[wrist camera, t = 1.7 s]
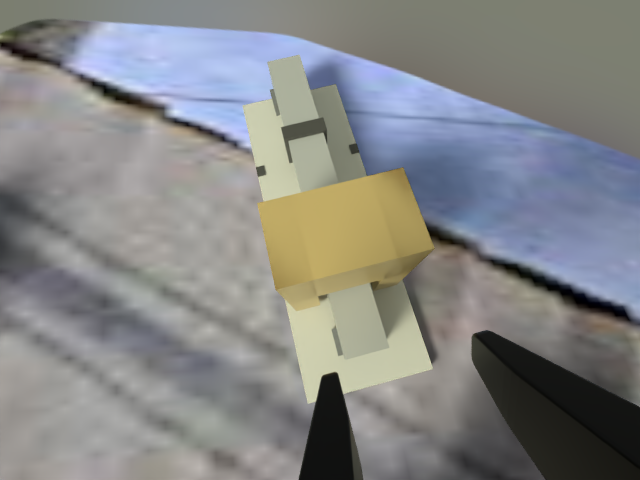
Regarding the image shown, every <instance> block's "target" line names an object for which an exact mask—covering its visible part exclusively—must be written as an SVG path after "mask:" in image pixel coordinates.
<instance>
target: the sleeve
mask: <svg viewBox="0 0 640 480" xmlns="http://www.w3.org/2000/svg"><path fill="white" fill-rule="evenodd" d="M257 204H258V209H259V213H260V218H261V223H262V227H263V232H264V237H265V242H266V246H267V251H268V256H269V260H270V265H271V270H272V275H273V279H274V284H275V289H276V291H277V292H278V293H279V294H280V295H281V296H282V297H283V298H284V299H285V300H286V301H287V302H288V303H289V304H290V305H291V306H292V307H293V308H294V309H295V310H296V311H299V310H303V309H307V308H311V307H314V306H318V305H320V302H319V298H318V296H321V295H325V294H329V293H333V292H336V291H340V290H344V289H348V288H352V287H355V286H359V285H363V284H367V283H371V285H372V288H373V291H375V290H379V289H383V288H387V287H391V286H394V285H397V284H398V283H399V282H400V281H401V280H402V279H403V278H404V277H405V276H406V275H408V274H409V273H410V272H411V271H412V270H413V269H414V268H415V267H416V266H417V265H418V264H419V263H420V262H421V261H422V260H423V259H424V258H425V257H426V256H427V255H428V254H430V253H431V252H432V251H433V250H434V249H435V248H434V246H433V243H432V241H431V238H430V235H429V233H428V230H427V228H426V225H425V222H424V220H423V217H422V215H421V212H420V210H419V207H418V204H417V202H416V199H415V197H414V194H413V191H412V189H411V186H410V184H409V181H408V178H407V176H406V173H405V171H404V168H399V169H395V170H391V171H386V172H382V173H378V174H374V175H370V176H366V177H362V178H358V179H354V180H350V181H346V182H342V183H337V184H333V185H329V186H325V187H321V188H317V189H313V190H309V191H305V192H301V193H297V194H293V195H289V196H284V197H280V198H276V199H272V200H268V201H264V202H260V203H257Z"/></svg>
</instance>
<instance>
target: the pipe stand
mask: <svg viewBox="0 0 640 480" xmlns="http://www.w3.org/2000/svg"><path fill="white" fill-rule="evenodd" d="M268 67H269V71H270V76H271V80H272V85H273V89H271V90H270V92H271V97H272V99H269V100H265V101H260V102H256V103H252V104H247V105H243V110H244V114H245V119H246V123H247V128H248V132H249V137H250V142H251V146H252V151H253V155H254V160H255V164H256V170H257V174H258V178H259V183H260V187H261V192H262V196H263V201H268V200H272V199H276V198H280V197H284V196H289V195H293V194H297V193H301V192H305V191H309V190H313V189H317V188H321V187H325V186H329V185H333V184H337V183H342V182H346V181H350V180H354V179H358V178H362V177H366V176H367V174H366V171H365V168H364V165H363V162H362V159H361V156H360V154H359V150H358V147H357V144H356V142H355V139H354V136H353V133H352V130H351V127H350V124H349V121H348V118H347V116H346V113H345V110H344V107H343V104H342V101H341V98H340V95H339V92H338V89H337V86H336V84H334V85H330V86H326V87H321V88H317V89H313V90H310V87H309V84H308V81H307V78H306V74H305V71H304V68H303V65H302V61H301V58H300V55H296V56H292V57H287V58H283V59H278V60H274V61H270V62H268ZM318 298H319V302H320V305H318V306H314V307H311V308H307V309H303V310H299V311H296V310H295V309H294V308H293V307H292V306H291V305H290V304H289V303H288V302H287V301H286V300H285V301H286V306H287V311H288V315H289V320H290V324H291V329H292V333H293V338H294V342H295V347H296V352H297V356H298V361H299V365H300V370H301V374H302V379H303V384H304V388H305V393H306V397H307V402H308V403H312V402H315V401H316V399H317V394H318V390H319V385H320V381H321V377H322V376H323V375H324V374H328V373H332V372H337V373H338V375H339V379H340V383H341V387H342V391H343V394H344V393H348V392H352V391H355V390H359V389H362V388H366V387H370V386H373V385H377V384H380V383H384V382H388V381H391V380H395V379H399V378H402V377H406V376H409V375H413V374H417V373H420V372H424V371H427V370H431V369H433V367H432V364H431V361H430V358H429V355H428V352H427V350H426V347H425V344H424V341H423V338H422V335H421V332H420V329H419V326H418V323H417V320H416V317H415V314H414V312H413V309H412V306H411V303H410V300H409V297H408V294H407V291H406V288H405V285H404V282H403V279H402V280H401V281H400V282H399V283H398V284H397V285H394V286H391V287H387V288H383V289H379V290H375V291H373V288H372V285H371V283H367V284H363V285H359V286H355V287H352V288H348V289H344V290H340V291H336V292H333V293H329V294H325V295H321V296H318Z"/></svg>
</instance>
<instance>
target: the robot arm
mask: <svg viewBox="0 0 640 480" xmlns="http://www.w3.org/2000/svg"><path fill="white" fill-rule="evenodd" d="M471 355H472V361H473V363H474V365H475V367H476V369H477V371H478V373H479V375H480V376H481V378H482V380H483V382H484V384H485V385H486V387H487V389H488V391H489V392H490V394H491V396H492V398H493V400H494V401H495V403H496V405H497V407H498V409H499V410H500V412H501V414H502V416H503V417H504V419H505V421H506V422H507V424H508V425H509V427H510V429H511V430H512V432H513V433H514V435H515V436H516V437H517V439H518V440H519V442H520V443H521V445H522V446H523V448H524V449H525V450H526V452H527V453H528V455H529V456H530V458H531V459H532V461H533V462H534V463H535V465H536V466H537V468H538V469H539V471H540V472H541V474H542V475H543V476H544V478H545V479H546V480H640V407H639V406H637V405H635V404H633V403H631V402H629V401H627V400H625V399H623V398H621V397H619V396H617V395H615V394H613V393H611V392H609V391H607V390H605V389H603V388H602V387H600V386H598V385H596V384H594V383H592V382H590V381H588V380H586V379H584V378H582V377H580V376H578V375H576V374H574V373H572V372H570V371H568V370H566V369H564V368H562V367H560V366H558V365H556V364H554V363H552V362H551V361H549V360H547V359H545V358H543V357H541V356H539V355H537V354H535V353H533V352H531V351H529V350H527V349H525V348H523V347H521V346H519V345H517V344H515V343H513V342H511V341H509V340H507V339H505V338H503V337H501V336H500V335H498V334H496V333H494V332H492V331H488V330H485V331H481V332H478V333H475V334H473V336H472V354H471ZM299 480H363V475H362V469H361V463H360V459H359V454H358V450H357V446H356V442H355V438H354V434H353V431H352V427H351V423H350V419H349V415H348V411H347V407H346V403H345V399H344V395H343V391H342V387H341V383H340V379H339V375H338V373H337V372H332V373H328V374H324V375H323V376H322V377H321V381H320V385H319V390H318V394H317V399H316V403H315V408H314V412H313V417H312V421H311V426H310V430H309V435H308V439H307V444H306V448H305V453H304V457H303V462H302V466H301V471H300V475H299Z"/></svg>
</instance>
